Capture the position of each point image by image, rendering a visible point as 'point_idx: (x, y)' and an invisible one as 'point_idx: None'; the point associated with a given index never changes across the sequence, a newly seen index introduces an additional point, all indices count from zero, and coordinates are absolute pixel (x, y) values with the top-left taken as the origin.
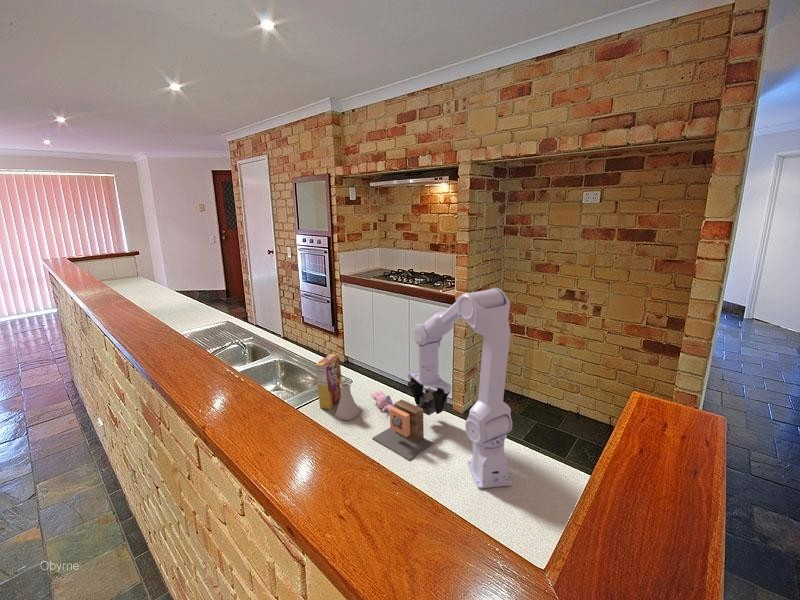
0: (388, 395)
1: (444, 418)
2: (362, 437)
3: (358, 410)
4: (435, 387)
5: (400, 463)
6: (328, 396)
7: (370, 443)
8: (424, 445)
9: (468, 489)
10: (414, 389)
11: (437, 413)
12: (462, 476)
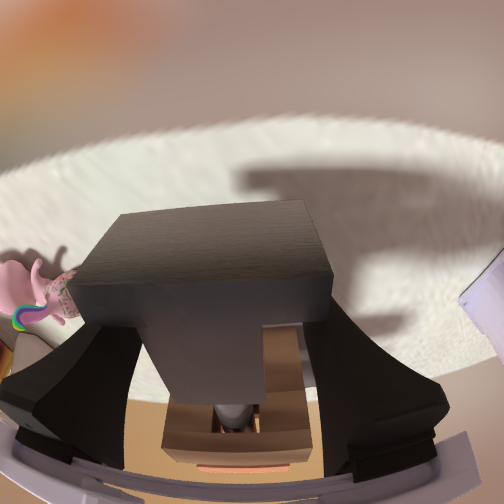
0: (16, 329)
1: (240, 137)
2: (155, 391)
3: (36, 342)
4: (307, 487)
5: (309, 393)
6: None
7: None
8: None
9: (466, 342)
10: (122, 434)
11: None
12: (452, 332)
